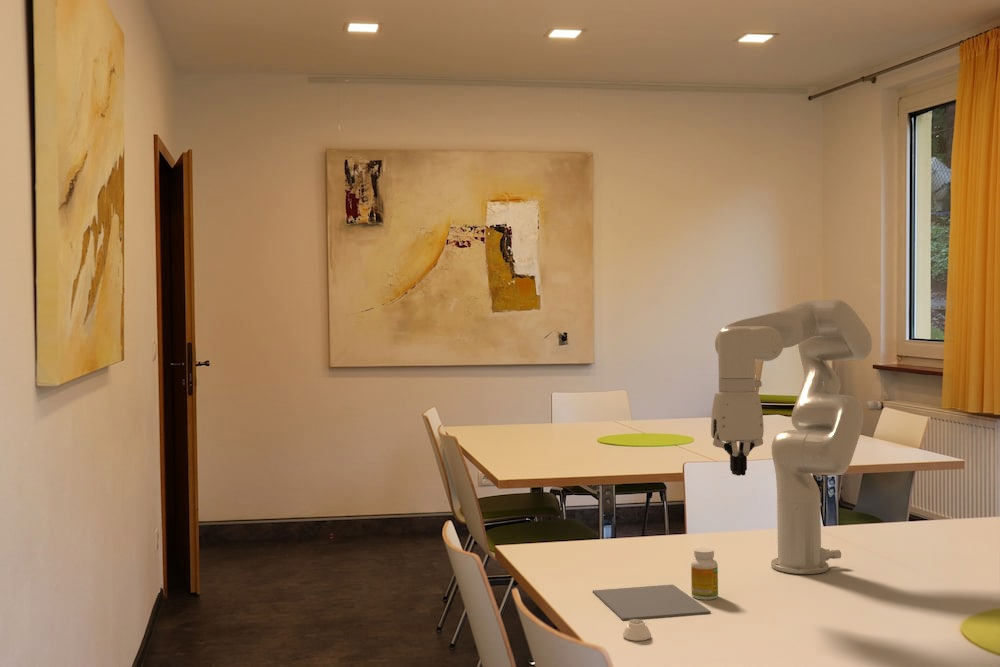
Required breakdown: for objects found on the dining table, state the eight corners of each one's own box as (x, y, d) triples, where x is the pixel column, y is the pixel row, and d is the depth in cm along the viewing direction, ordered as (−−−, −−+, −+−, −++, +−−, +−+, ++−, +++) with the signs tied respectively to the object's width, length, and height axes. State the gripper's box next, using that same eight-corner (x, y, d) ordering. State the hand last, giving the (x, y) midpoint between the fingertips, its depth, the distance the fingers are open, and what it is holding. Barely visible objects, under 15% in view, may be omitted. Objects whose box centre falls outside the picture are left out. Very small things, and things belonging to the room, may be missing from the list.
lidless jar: (653, 642, 170) (648, 633, 175) (652, 625, 170) (647, 617, 175) (625, 643, 170) (620, 634, 175) (625, 626, 170) (620, 618, 175)
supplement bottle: (718, 600, 194) (717, 553, 194) (691, 599, 196) (690, 552, 195) (717, 593, 200) (717, 547, 200) (691, 592, 201) (690, 546, 201)
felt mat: (672, 586, 206) (672, 584, 206) (710, 613, 186) (710, 611, 186) (592, 592, 202) (592, 590, 202) (622, 620, 183) (622, 618, 183)
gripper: (762, 384, 204) (763, 470, 204) (696, 386, 201) (697, 473, 201) (779, 386, 197) (780, 475, 197) (710, 388, 194) (712, 479, 194)
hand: (738, 474), depth 199 cm, fingers closed
